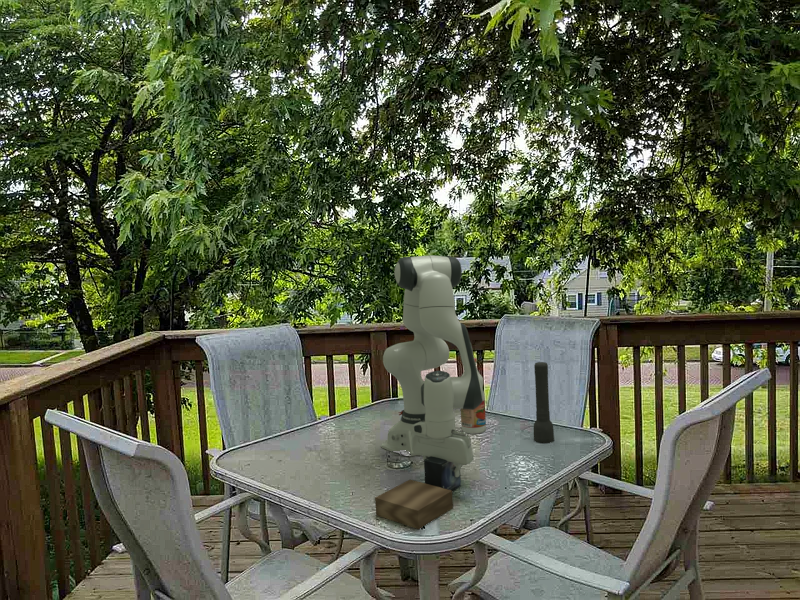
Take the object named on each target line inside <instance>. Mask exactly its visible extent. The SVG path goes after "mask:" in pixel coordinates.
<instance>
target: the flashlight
mask: <svg viewBox="0 0 800 600" xmlns="http://www.w3.org/2000/svg"><path fill="white" fill-rule="evenodd" d="M533 365H534V367H533V368H534V382H535V407H536V408H535V415H536V420H535V421H534V422H533V423H534V424H533V442H535V441H536V442H535V443H538V444H551V443H553V442H554V441H555V437H554V436H555V434H554V433H555V432H554V430H555V429H554V425H553V422H552V421H551V417H550V397H549V396H550V395H549V365H548V363H547V362H543V361H539V362H535V363H534V364H533ZM550 442H551V443H550Z"/></svg>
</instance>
